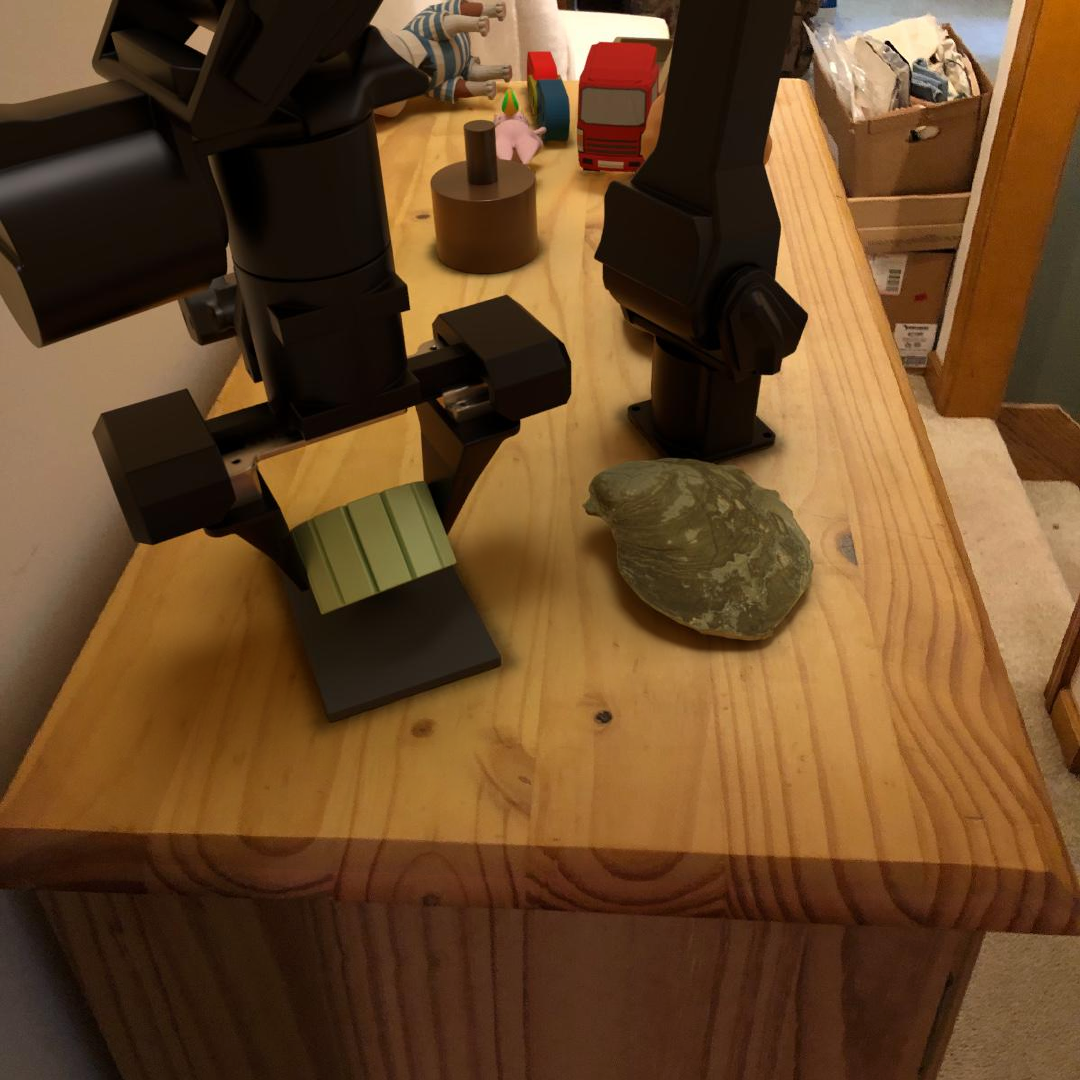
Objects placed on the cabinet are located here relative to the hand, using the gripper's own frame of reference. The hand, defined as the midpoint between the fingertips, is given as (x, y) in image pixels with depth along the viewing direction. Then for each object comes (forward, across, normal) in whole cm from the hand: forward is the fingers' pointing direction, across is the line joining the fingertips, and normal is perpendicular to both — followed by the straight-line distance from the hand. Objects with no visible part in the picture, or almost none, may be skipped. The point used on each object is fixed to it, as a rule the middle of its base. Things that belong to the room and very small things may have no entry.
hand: (372, 558), depth 47 cm
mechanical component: (+1, -37, -54) cm, 65 cm away
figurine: (-2, -36, -58) cm, 68 cm away
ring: (0, 0, +2) cm, 2 cm away
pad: (+3, 0, 0) cm, 3 cm away
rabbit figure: (+3, -31, -44) cm, 54 cm away
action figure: (+3, -37, -25) cm, 45 cm away
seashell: (+3, -14, +6) cm, 16 cm away
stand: (+3, -21, -31) cm, 38 cm away
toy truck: (+3, -41, -42) cm, 59 cm away
